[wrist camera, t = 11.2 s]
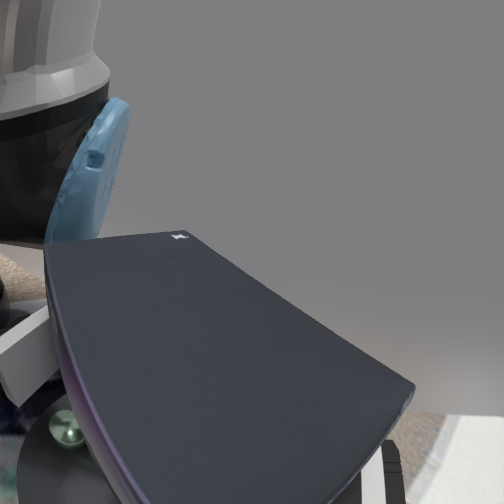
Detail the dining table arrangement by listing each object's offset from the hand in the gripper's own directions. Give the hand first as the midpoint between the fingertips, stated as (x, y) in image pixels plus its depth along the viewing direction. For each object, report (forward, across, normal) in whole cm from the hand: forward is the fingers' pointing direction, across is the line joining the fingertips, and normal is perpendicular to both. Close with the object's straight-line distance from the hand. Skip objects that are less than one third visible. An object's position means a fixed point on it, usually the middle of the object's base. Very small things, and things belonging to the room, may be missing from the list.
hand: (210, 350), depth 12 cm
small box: (-4, 0, -6) cm, 7 cm away
